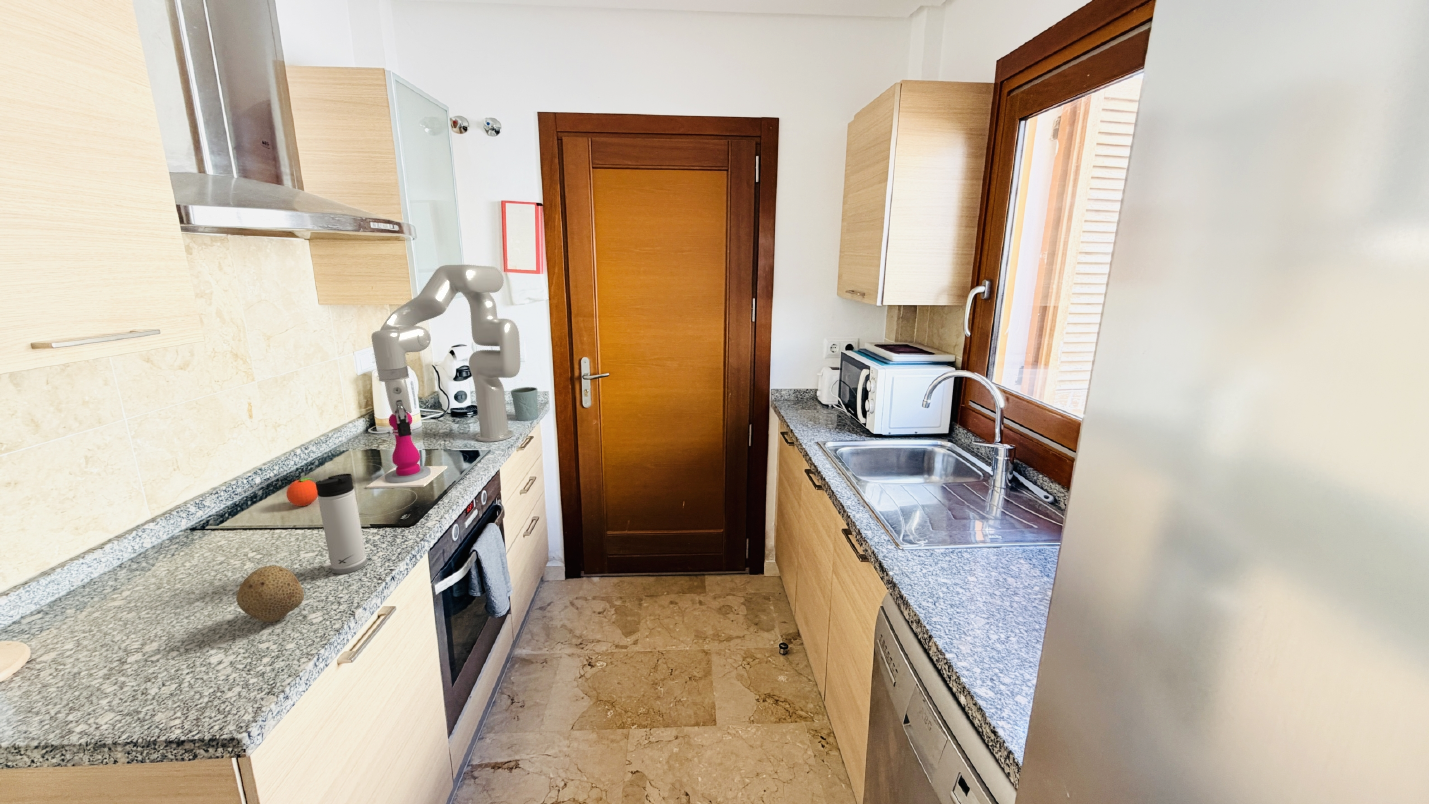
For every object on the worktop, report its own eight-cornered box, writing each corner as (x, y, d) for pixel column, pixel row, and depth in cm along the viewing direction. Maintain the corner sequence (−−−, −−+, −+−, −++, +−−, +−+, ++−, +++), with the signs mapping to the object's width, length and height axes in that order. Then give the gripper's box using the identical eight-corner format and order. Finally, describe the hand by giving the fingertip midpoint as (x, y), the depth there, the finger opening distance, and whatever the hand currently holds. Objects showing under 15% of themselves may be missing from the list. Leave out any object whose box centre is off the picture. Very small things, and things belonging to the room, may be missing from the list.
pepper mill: (394, 478, 168) (384, 410, 163) (394, 471, 174) (384, 405, 169) (422, 473, 171) (413, 407, 167) (421, 466, 177) (412, 402, 173)
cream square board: (394, 469, 180) (394, 464, 180) (447, 467, 180) (446, 462, 180) (366, 488, 165) (365, 483, 164) (423, 486, 165) (423, 481, 165)
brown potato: (237, 620, 103) (225, 569, 101) (297, 598, 110) (287, 550, 108) (249, 641, 98) (236, 587, 95) (311, 617, 104) (301, 566, 102)
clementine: (314, 496, 160) (310, 472, 158) (330, 500, 157) (326, 475, 155) (283, 507, 153) (277, 482, 151) (299, 512, 150) (294, 485, 148)
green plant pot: (542, 415, 242) (539, 386, 239) (536, 421, 232) (533, 391, 229) (517, 415, 241) (514, 387, 238) (510, 422, 231) (507, 392, 229)
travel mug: (348, 576, 117) (330, 483, 113) (324, 571, 120) (306, 479, 115) (375, 562, 123) (359, 472, 118) (352, 557, 125) (336, 469, 121)
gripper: (411, 377, 160) (421, 436, 165) (405, 367, 174) (414, 422, 179) (380, 381, 156) (391, 441, 161) (376, 370, 171) (387, 426, 175)
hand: (403, 431), depth 170 cm, fingers open, 9 cm apart
